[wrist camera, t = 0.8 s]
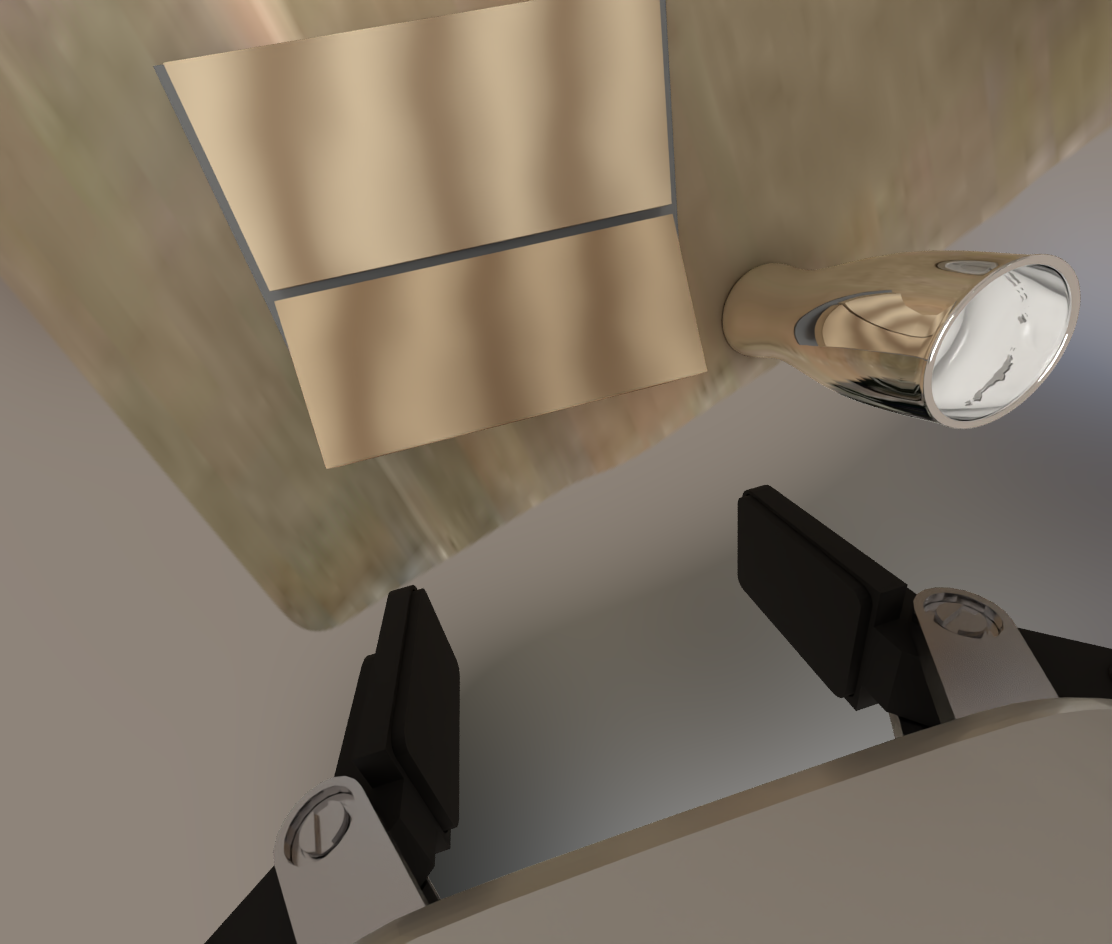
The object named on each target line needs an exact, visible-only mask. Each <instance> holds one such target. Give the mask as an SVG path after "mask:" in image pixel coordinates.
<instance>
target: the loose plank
mask: <svg viewBox="0 0 1112 944" xmlns="http://www.w3.org/2000/svg"><path fill="white" fill-rule="evenodd" d="M274 302H275V306H276V309H277V312H278V315H279V318H280V322H281V325H282V328H283V331H284V334H285V338H286V341H287V344H288V347H289V350H290V354H291V357H292V360H293V363H294V366H295V370H296V373H297V376H298V379H299V382H300V386H301V389H302V392H303V395H304V398H305V402H306V405H307V408H308V411H309V414H310V418H311V421H312V424H313V427H314V431H315V434H316V437H317V440H318V443H319V447H320V450H321V453H322V456H323V459H324V463H325V466H326V469H328V468H335V467H340V466H344V465H348V464H352V463H356V462H360V461H363V460H367V459H371V458H375V457H379V456H383V455H387V454H391V453H395V452H399V451H403V450H406V449H410V448H414V447H418V446H422V445H426V444H430V443H434V442H438V441H442V440H445V439H449V438H453V437H457V436H461V435H465V434H469V433H473V432H477V431H481V430H485V429H488V428H492V427H496V426H500V425H504V424H508V423H512V422H516V421H520V420H524V419H527V418H531V417H535V416H539V415H543V414H547V413H551V412H555V411H559V410H563V409H567V408H570V407H574V406H578V405H582V404H586V403H590V402H594V401H598V400H602V399H606V398H609V397H613V396H617V395H621V394H625V393H629V392H633V391H637V390H641V389H645V388H649V387H652V386H656V385H660V384H664V383H668V382H672V381H676V380H680V379H684V378H688V377H691V376H695V375H698V374H701V373H704V372H707V368H706V363H705V359H704V354H703V349H702V345H701V340H700V336H699V331H698V327H697V322H696V318H695V313H694V309H693V304H692V300H691V295H690V291H689V286H688V281H687V277H686V272H685V268H684V263H683V259H682V254H681V250H680V245H679V241H678V236H677V232H676V227H675V222H674V218H673V214H669V215H665V216H660V217H656V218H651V219H646V220H642V221H637V222H633V223H628V224H624V225H619V226H615V227H610V228H605V229H601V230H596V231H592V232H587V233H583V234H578V235H574V236H569V237H565V238H560V239H555V240H551V241H546V242H542V243H537V244H533V245H528V246H524V247H519V248H514V249H510V250H505V251H501V252H496V253H492V254H487V255H483V256H478V257H474V258H469V259H464V260H460V261H455V262H451V263H446V264H442V265H437V266H433V267H428V268H423V269H419V270H414V271H410V272H405V273H401V274H396V275H392V276H387V277H383V278H378V279H373V280H369V281H364V282H360V283H355V284H351V285H346V286H342V287H337V288H332V289H328V290H323V291H319V292H314V293H310V294H305V295H301V296H296V297H292V298H287V299H282V300H278V301H274Z"/></svg>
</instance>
